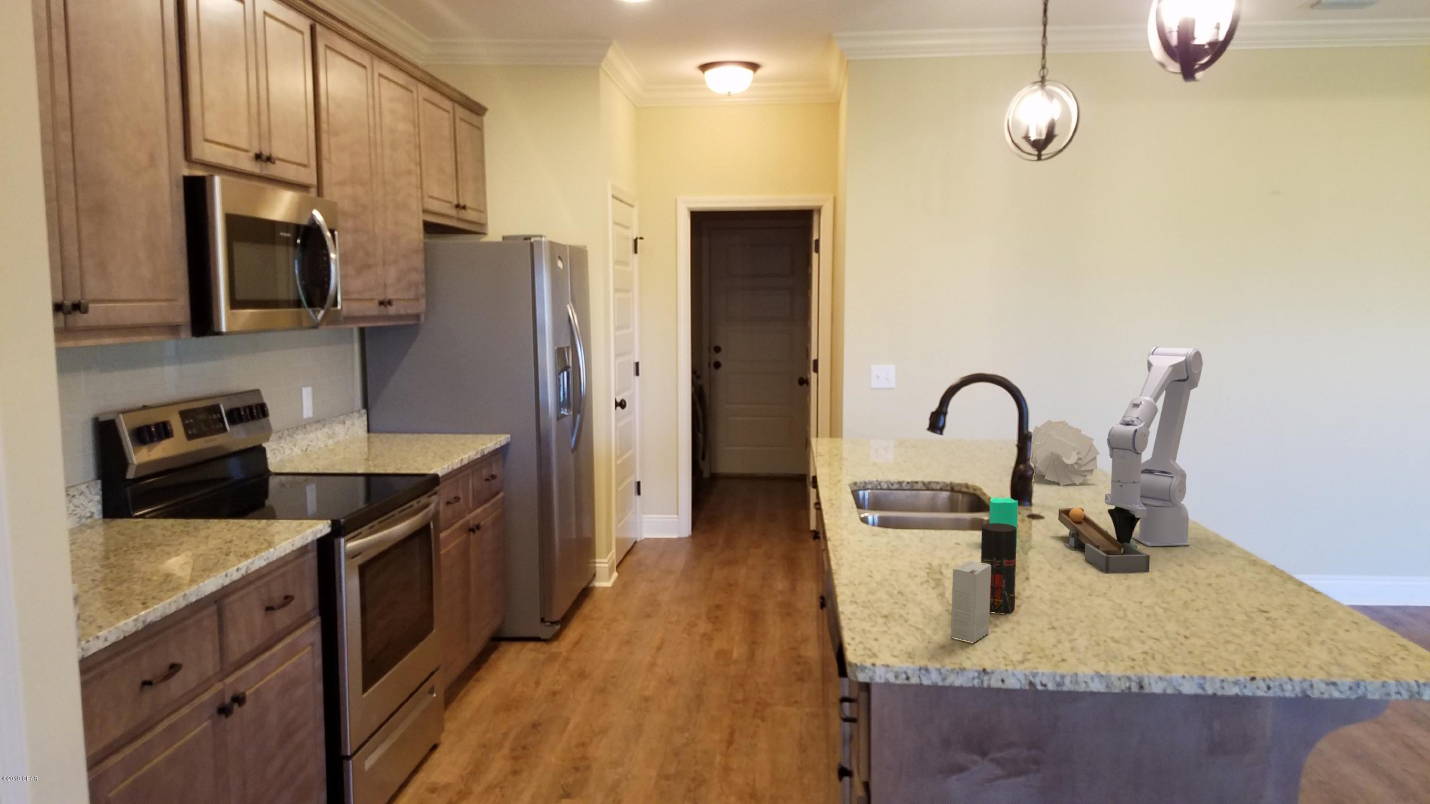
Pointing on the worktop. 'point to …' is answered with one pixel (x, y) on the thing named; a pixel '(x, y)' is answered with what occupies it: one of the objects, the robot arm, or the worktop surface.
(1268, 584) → the worktop surface
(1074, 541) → the pivot bracket
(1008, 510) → the candle
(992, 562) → the deodorant
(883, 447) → the worktop surface
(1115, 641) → the worktop surface
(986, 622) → the skincare box
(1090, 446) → the spiral staircase
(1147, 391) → the robot arm
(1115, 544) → the tilt board
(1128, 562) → the tray
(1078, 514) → the ball
